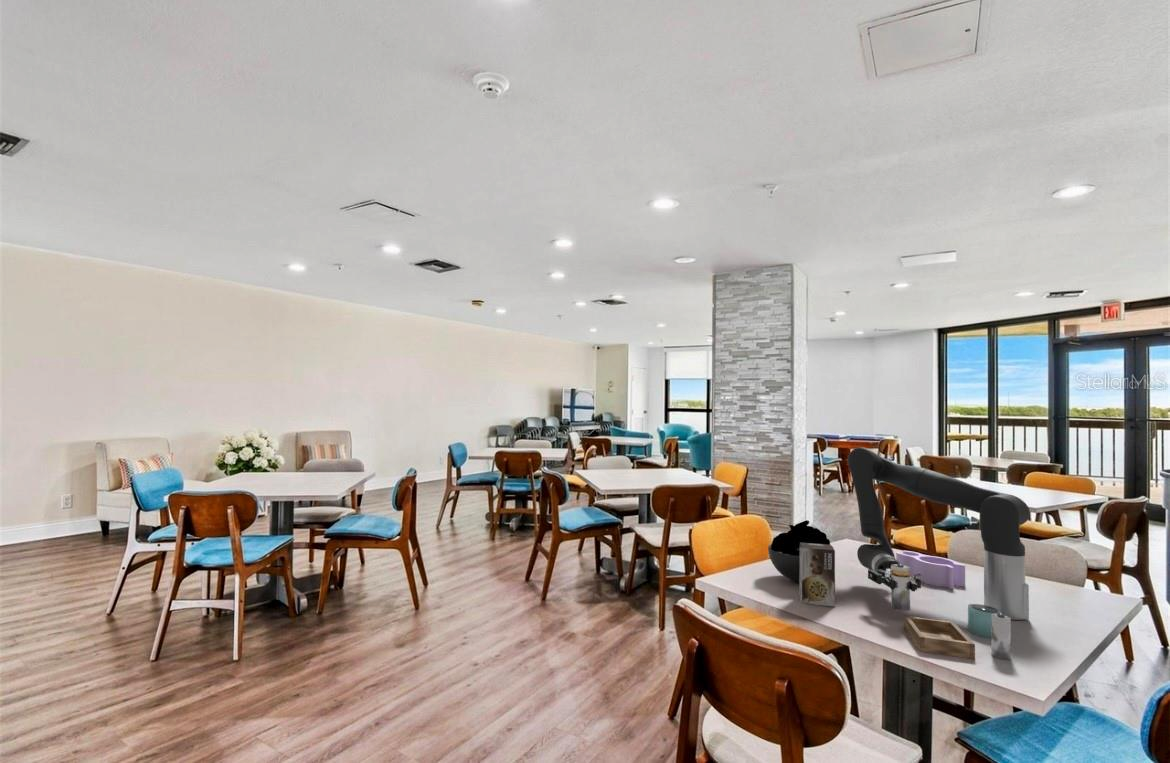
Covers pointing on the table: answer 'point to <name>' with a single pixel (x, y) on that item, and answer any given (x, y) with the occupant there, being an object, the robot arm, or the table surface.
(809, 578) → the coffee box
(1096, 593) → the table surface
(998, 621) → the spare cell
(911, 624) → the brown wooden tray
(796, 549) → the coal bowl
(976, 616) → the cup
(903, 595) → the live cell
